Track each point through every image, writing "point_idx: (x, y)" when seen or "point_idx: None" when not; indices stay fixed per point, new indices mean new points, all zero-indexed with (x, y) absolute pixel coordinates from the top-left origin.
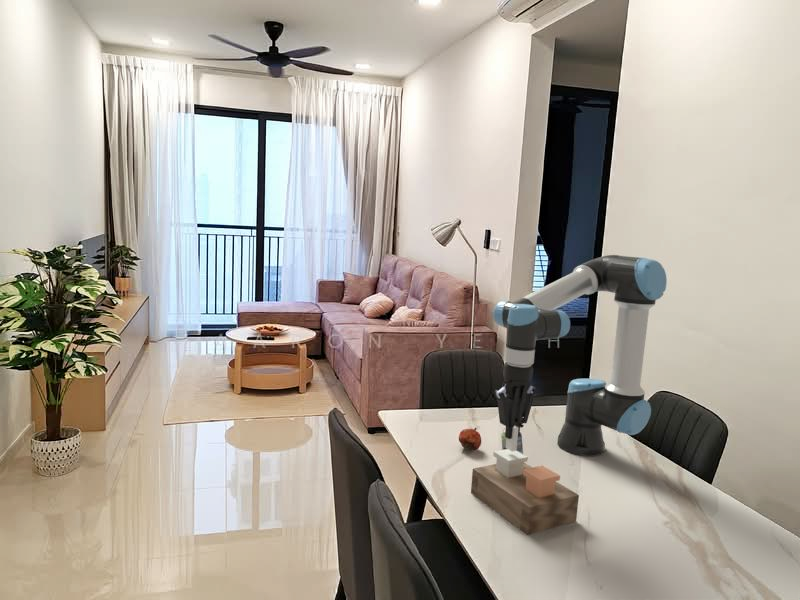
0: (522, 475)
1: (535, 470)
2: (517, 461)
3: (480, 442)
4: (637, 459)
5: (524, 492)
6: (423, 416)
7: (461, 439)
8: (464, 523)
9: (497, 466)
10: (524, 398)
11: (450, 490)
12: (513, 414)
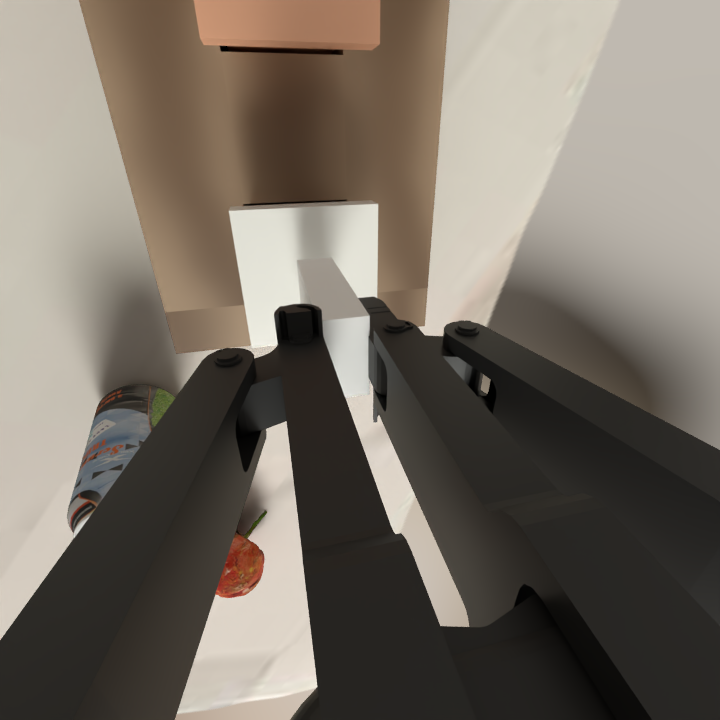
0: (257, 196)
1: None
2: (309, 205)
3: None
4: None
5: None
6: (253, 676)
7: (263, 555)
8: (541, 115)
9: None
10: (346, 623)
11: (438, 323)
12: (439, 389)
